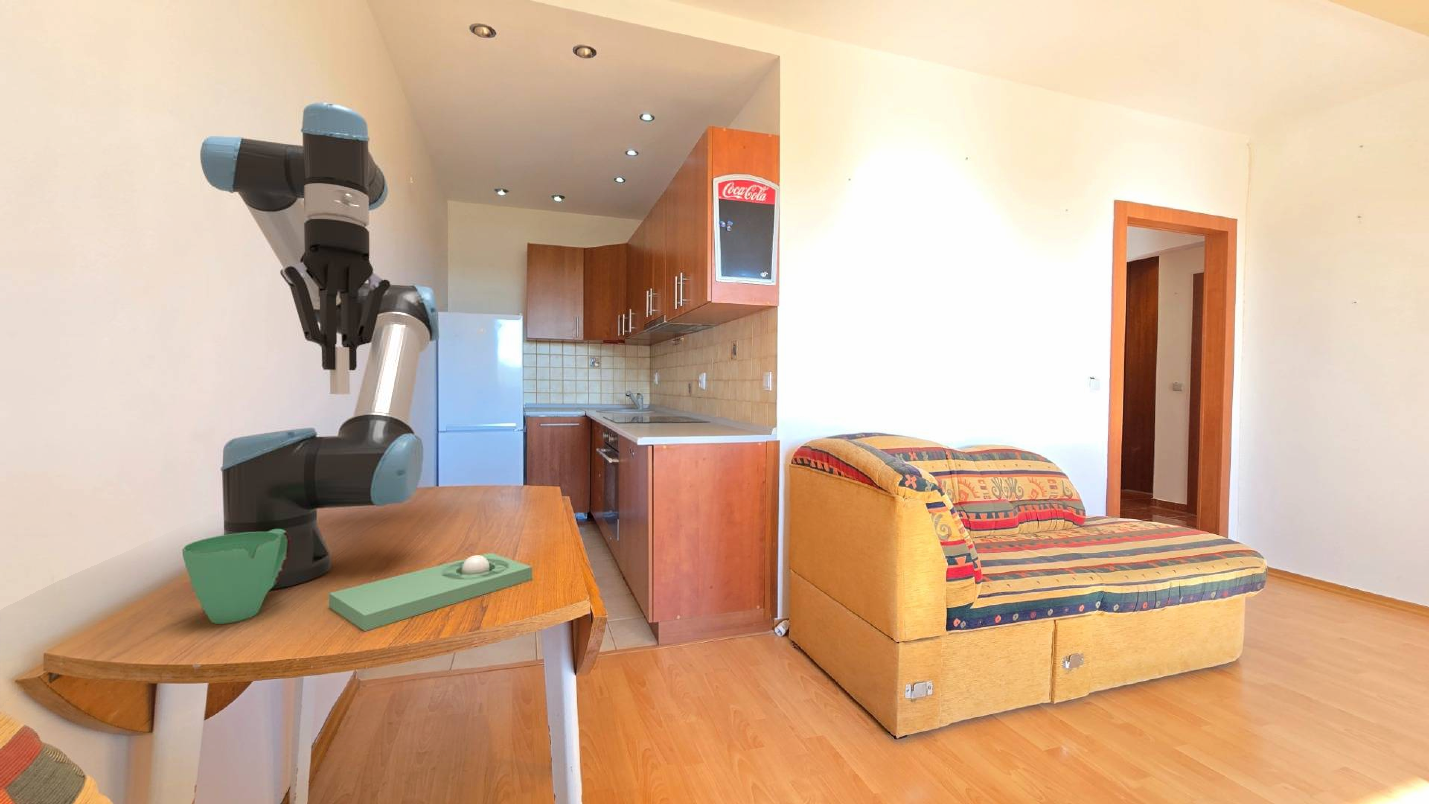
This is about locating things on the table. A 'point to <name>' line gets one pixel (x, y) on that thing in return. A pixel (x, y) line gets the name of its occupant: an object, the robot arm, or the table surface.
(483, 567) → the ball
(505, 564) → the green rectangular board
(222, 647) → the table surface
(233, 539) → the mug
